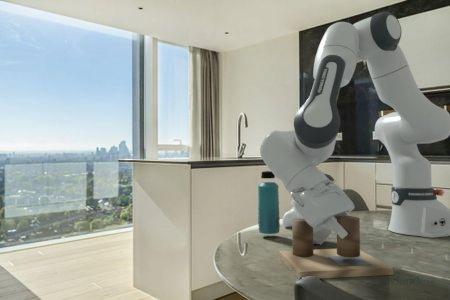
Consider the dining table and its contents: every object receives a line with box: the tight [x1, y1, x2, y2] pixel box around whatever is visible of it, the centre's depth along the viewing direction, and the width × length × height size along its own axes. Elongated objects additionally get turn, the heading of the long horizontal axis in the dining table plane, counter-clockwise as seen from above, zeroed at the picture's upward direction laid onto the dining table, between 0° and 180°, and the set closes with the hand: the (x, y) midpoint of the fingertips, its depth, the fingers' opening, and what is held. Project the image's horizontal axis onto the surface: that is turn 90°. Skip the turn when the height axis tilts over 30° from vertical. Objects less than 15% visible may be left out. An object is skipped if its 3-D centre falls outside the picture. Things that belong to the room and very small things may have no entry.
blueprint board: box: [277, 218, 394, 279], centre depth 82 cm, size 20×16×10 cm
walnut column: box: [336, 215, 361, 257], centre depth 80 cm, size 5×5×8 cm
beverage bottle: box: [257, 170, 281, 235], centre depth 111 cm, size 6×7×20 cm
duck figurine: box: [281, 199, 303, 228], centre depth 126 cm, size 12×8×11 cm
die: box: [313, 224, 333, 246], centre depth 103 cm, size 8×9×10 cm
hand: (351, 233), depth 80 cm, fingers closed on walnut column, 5 cm apart
